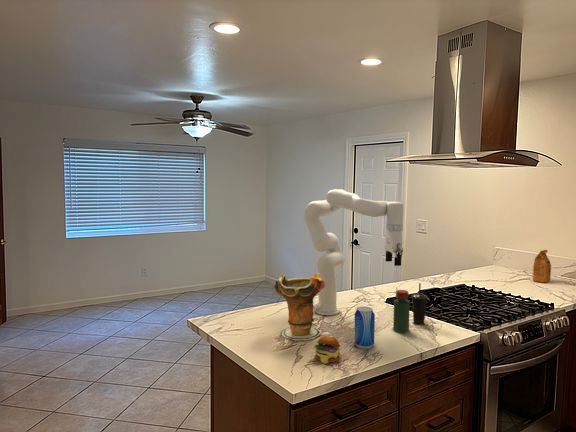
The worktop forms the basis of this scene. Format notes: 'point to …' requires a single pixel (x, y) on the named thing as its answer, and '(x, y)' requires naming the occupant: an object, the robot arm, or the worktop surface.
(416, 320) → the drinking cup
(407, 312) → the bottle
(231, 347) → the worktop surface
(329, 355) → the cheeseburger
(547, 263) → the coffee package
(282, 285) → the decorative vase
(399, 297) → the cap
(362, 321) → the beer can
